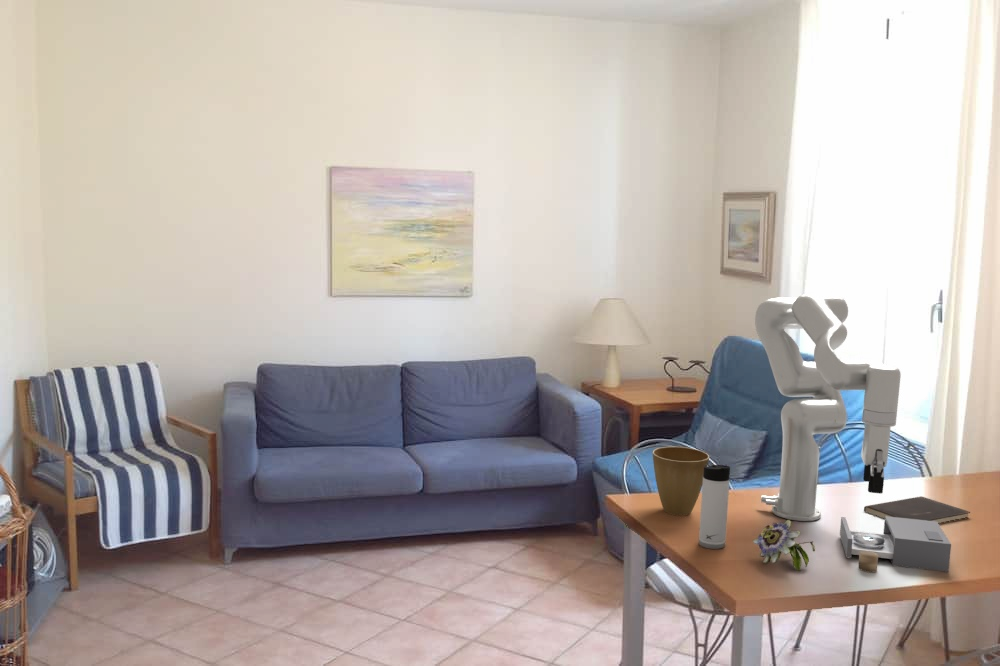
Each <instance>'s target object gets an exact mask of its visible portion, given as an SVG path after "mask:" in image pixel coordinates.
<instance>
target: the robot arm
mask: <svg viewBox="0 0 1000 666" xmlns="http://www.w3.org/2000/svg"><path fill="white" fill-rule="evenodd" d="M754 316H755V317H754V325H755V331H756V334H757V336H758V338H759V339H758V340H760V342H761V344H762V346H763V348H764V350H765V353H766V354H767V358H768V362H769V364H770V369H771V371H772V374H773V377H774V380H775V384H776V387H777V389H778V391H779V392H780V394H781V395H783V396H785V397H789V398H795V399H792V400H789V401H787V402H786V403H785V404H784V405H783V407H782V409H781V411H780V420H781V421H780V422H781V428H782V429H781V430H782V448H781V451H782V452H781V463H780V478H779V491H778V492H777V494H776V495H773V496H768V495H762V494H761V496H760V497H761V498H760V502H761V503H764V504H765V505H766V506H767V505H768V506H772V507H771V512H772V513H773V514H774V515H776V516H777V517H779V518H782V519H787V520H790V521H797V522H798V521H799V522H800V521H801V522H812V521H817V520H819V519H821V516H822V515H821V511H820V510H819V509H817V508H816V504H817V503H816V501H817V491H818V490H817V488H818V476H819V475H818V474H819V466H820V465H819V464H820V448H819V445H818V444H817V442H816V440H815V438H814V435H821V434H836V433H840V432H841V431H843V430H844V429H845V427H846V425H847V421H848V413H847V409H846V406H845V405H846V404H845V401H844V399H843V396H842V393H841V391H842V392H843V391H846V392H847V391H864V397H863V406H862V407H863V408H862V417H861V418H862V419H861V423H864V424H865V425H864V430H863V431H864V432H863V438H862V439H863V440H862V445H861V453H860V457H861V460H862V462H863V463H864V467H863V481H864V482H868V485H867V486H868V487H867V491H868V493H871V494H872V493H873V494H880V495H881V494H883V491H884V483H885V481H884V480H885V472H884V471H885V467H887V464H888V459H889V447H890V439H891V427H895V426H896V425H897V417H898V416H897V415H898V407H899V406H898V404H899V395H900V387H901V386H900V385H901V375H902V374H901V373H902V372H901V371H900V369H899V368H898V367H895V366H893V365H887V364H884V363H882V362H880V361H878V360H875V359H872V358H871V359H870V358H868V359H866V358H865V359H863V358H862V359H861V358H860V359H859V358H858V359H855V358H854V359H851V358H850V359H841V357H839V356H838V355H837V353H836V352H835V350H837V349H838V348H839V347H840V346H841V345H842V344H843V343H844V342H845V340H846V339H847V337H848V330H847V327H846V326H845V324H843V323H844V322H845V321H846V320H847V318H848V316H849V307H848V304H847V302H846V300H845V298H843V297H842V296H840V295H839V294H837V293H820V292H819V293H813V292H812V293H811V292H810V293H805V294H802V295H800V296H798V297H774V298H769V299H766V300H764V301H762V302H761V303H759V305H758V306H757V307H756V311H755V315H754ZM785 329H787V330H788V329H789V330H790V329H794V330H795V329H798V330H799V329H803V330H804V331H805V333H806V334H807V335H808V337H809V338H810V339H811V341H812V342H813V343H814V345H815V346H814V352H813V358H814V361H805V360H804V359H803V356H802V354H801V352H800V349H799V346H798V343H797V342H796V341H795V339H794V338H793V337H792V336H791V335H789V334H788V333H787V332H786V331H785ZM802 397H803V398H802ZM804 397H806V398H804Z"/></svg>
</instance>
